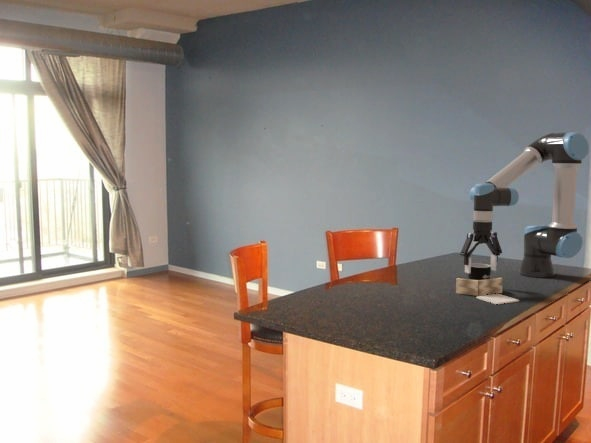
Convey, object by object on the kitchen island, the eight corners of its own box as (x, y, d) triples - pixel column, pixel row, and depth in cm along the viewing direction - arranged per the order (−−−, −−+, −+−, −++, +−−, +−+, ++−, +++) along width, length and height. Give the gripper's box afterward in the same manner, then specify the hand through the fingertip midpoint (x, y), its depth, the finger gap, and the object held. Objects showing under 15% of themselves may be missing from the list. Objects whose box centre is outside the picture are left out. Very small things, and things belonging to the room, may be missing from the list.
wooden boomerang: (488, 288, 240) (488, 274, 239) (502, 292, 233) (502, 278, 232) (454, 292, 233) (455, 278, 232) (468, 297, 226) (468, 282, 225)
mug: (482, 292, 232) (483, 268, 231) (463, 289, 239) (463, 265, 238) (498, 288, 240) (498, 264, 239) (478, 284, 247) (479, 261, 246)
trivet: (497, 295, 229) (498, 293, 229) (518, 301, 219) (519, 299, 219) (476, 298, 224) (476, 296, 224) (496, 304, 214) (496, 303, 214)
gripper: (499, 218, 245) (497, 267, 247) (452, 221, 235) (450, 272, 237) (512, 220, 238) (510, 271, 240) (464, 223, 228) (462, 275, 230)
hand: (480, 271), depth 239 cm, fingers open, 13 cm apart
